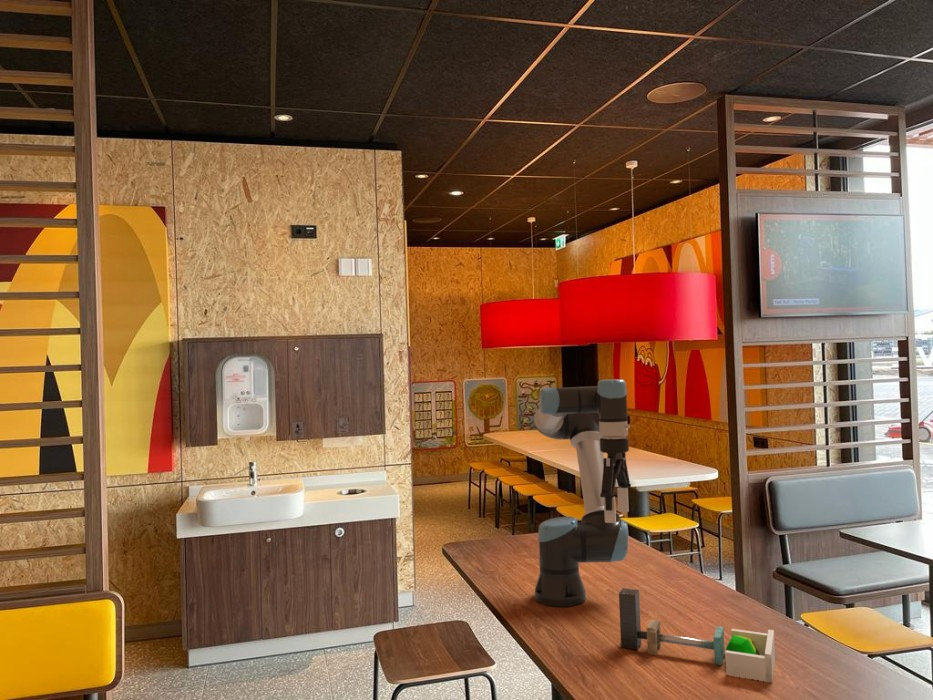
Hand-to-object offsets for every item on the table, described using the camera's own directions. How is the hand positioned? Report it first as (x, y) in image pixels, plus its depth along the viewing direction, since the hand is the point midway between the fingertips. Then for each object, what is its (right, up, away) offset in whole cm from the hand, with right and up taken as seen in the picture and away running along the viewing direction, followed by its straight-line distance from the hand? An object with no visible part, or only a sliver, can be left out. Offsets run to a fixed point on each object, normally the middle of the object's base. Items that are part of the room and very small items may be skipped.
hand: (617, 517), depth 177 cm
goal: (+24, -27, -26) cm, 45 cm away
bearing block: (+5, -28, -17) cm, 33 cm away
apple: (+24, -27, -24) cm, 44 cm away
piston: (+9, -27, -18) cm, 34 cm away
